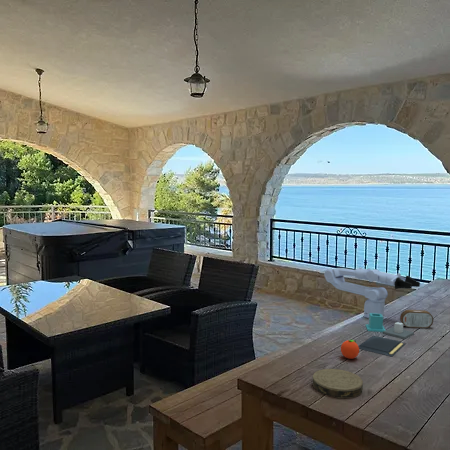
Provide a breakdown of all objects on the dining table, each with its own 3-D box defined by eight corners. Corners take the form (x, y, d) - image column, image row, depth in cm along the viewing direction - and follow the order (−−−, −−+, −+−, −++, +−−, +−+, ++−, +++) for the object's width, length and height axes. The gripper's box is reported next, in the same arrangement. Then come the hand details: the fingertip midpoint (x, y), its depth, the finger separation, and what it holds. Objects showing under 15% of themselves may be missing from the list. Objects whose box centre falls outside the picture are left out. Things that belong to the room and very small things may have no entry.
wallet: (372, 333, 191) (407, 341, 181) (372, 337, 191) (407, 345, 181) (354, 344, 176) (391, 354, 166) (354, 349, 176) (391, 359, 166)
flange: (367, 330, 198) (368, 316, 198) (365, 325, 206) (366, 312, 206) (385, 332, 197) (386, 317, 196) (382, 327, 205) (383, 313, 204)
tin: (431, 327, 206) (432, 310, 206) (433, 329, 203) (434, 312, 202) (399, 325, 208) (400, 308, 207) (401, 327, 204) (402, 310, 204)
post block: (382, 333, 195) (383, 323, 194) (392, 329, 202) (393, 318, 201) (404, 339, 187) (405, 328, 187) (413, 334, 194) (414, 323, 194)
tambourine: (332, 402, 129) (333, 393, 129) (303, 381, 144) (303, 372, 143) (373, 393, 135) (373, 384, 135) (341, 374, 150) (341, 366, 150)
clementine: (347, 352, 170) (348, 335, 169) (363, 357, 165) (364, 339, 164) (336, 357, 164) (337, 339, 164) (353, 363, 159) (354, 344, 159)
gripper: (382, 272, 209) (408, 278, 198) (397, 270, 218) (423, 275, 207) (380, 286, 209) (407, 293, 199) (396, 283, 218) (422, 290, 208)
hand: (415, 285), depth 203 cm, fingers open, 7 cm apart
